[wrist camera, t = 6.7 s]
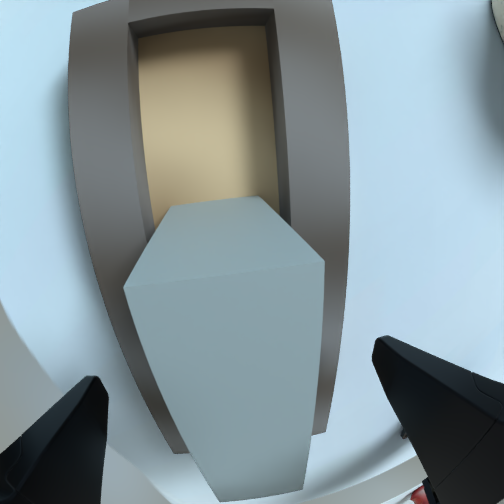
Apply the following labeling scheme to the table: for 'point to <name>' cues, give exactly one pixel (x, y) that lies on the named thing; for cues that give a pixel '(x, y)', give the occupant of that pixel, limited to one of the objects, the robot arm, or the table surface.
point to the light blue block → (234, 340)
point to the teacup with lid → (499, 15)
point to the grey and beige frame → (209, 141)
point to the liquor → (419, 496)
